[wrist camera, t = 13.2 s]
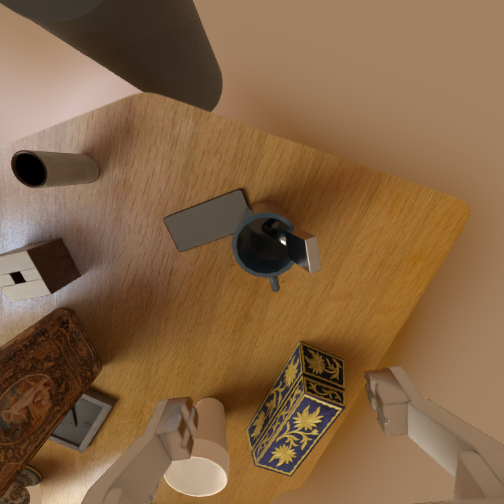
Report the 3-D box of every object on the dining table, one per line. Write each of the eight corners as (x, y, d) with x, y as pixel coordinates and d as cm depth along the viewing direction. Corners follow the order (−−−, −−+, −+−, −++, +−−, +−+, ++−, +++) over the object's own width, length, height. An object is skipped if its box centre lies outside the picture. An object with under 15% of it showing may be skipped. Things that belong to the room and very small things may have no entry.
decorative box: (245, 430, 59) (243, 473, 51) (299, 341, 50) (307, 376, 41) (284, 442, 60) (288, 487, 52) (344, 358, 51) (361, 396, 42)
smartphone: (161, 218, 41) (241, 188, 39) (163, 217, 42) (242, 187, 40) (179, 253, 43) (255, 226, 41) (180, 251, 44) (256, 225, 42)
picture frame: (52, 371, 55) (28, 422, 61) (44, 378, 53) (21, 430, 59) (116, 400, 57) (87, 446, 64) (111, 408, 55) (81, 455, 62)
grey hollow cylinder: (79, 185, 40) (22, 191, 31) (67, 157, 39) (3, 154, 29) (104, 180, 40) (53, 184, 30) (92, 151, 38) (36, 146, 29)
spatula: (258, 218, 40) (305, 239, 25) (265, 215, 41) (317, 236, 25) (263, 240, 42) (310, 273, 26) (270, 237, 42) (321, 269, 26)
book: (47, 310, 49) (-148, 441, 26) (71, 306, 49) (-107, 436, 25) (82, 370, 54) (-54, 525, 31) (104, 367, 54) (-18, 522, 30)
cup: (245, 408, 57) (241, 478, 44) (213, 432, 60) (200, 504, 47) (206, 380, 54) (190, 447, 41) (174, 407, 57) (149, 476, 45)
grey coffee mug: (233, 207, 41) (224, 221, 30) (285, 195, 40) (294, 205, 29) (250, 272, 45) (246, 304, 34) (297, 263, 44) (308, 293, 33)
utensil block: (23, 246, 44) (-18, 260, 38) (61, 237, 44) (25, 250, 37) (45, 283, 47) (9, 302, 40) (81, 276, 46) (51, 294, 40)
